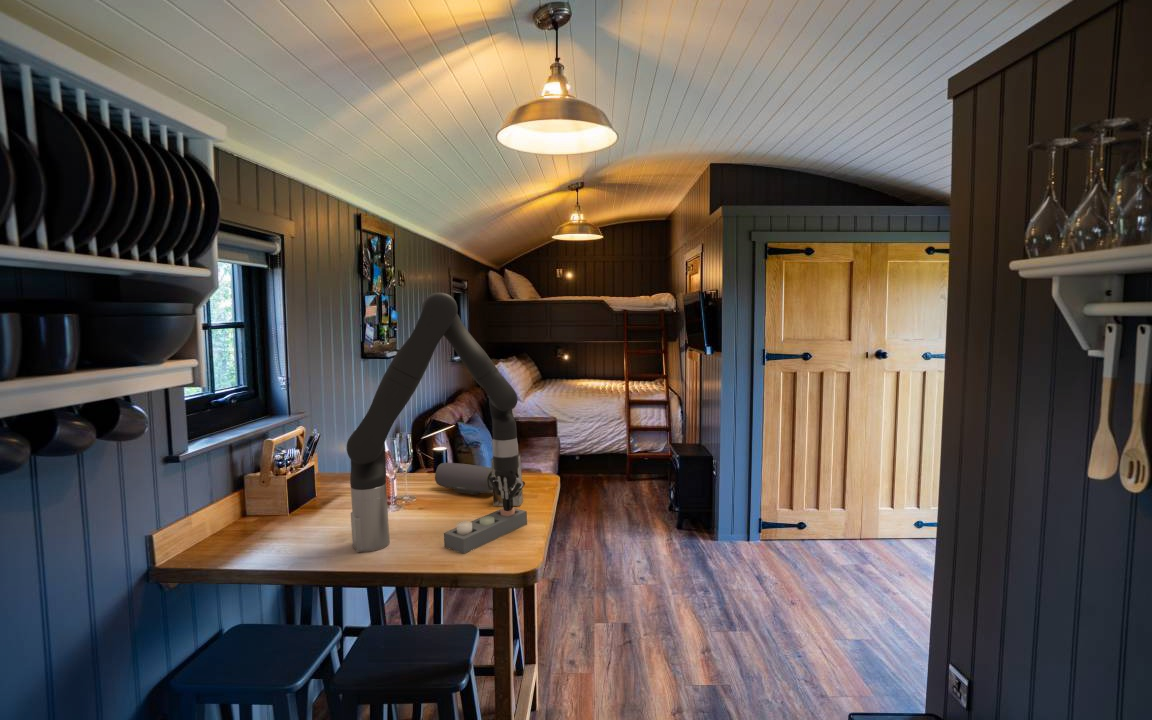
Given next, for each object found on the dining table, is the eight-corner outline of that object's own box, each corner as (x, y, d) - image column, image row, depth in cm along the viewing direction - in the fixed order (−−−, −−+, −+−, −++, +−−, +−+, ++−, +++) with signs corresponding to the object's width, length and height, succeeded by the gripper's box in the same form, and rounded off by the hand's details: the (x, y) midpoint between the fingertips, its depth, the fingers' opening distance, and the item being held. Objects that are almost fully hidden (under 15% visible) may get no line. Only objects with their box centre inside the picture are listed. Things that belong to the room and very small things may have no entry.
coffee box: (523, 500, 192) (521, 453, 191) (519, 506, 186) (517, 458, 184) (497, 500, 193) (495, 453, 192) (492, 506, 187) (490, 458, 185)
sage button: (487, 533, 159) (486, 522, 159) (476, 530, 162) (476, 519, 162) (497, 528, 163) (497, 518, 162) (487, 525, 165) (487, 515, 165)
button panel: (464, 553, 150) (463, 539, 150) (444, 547, 155) (443, 532, 155) (527, 524, 170) (526, 511, 170) (507, 518, 175) (507, 506, 174)
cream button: (464, 539, 153) (463, 528, 152) (453, 536, 155) (453, 525, 155) (475, 534, 156) (475, 523, 156) (465, 531, 158) (464, 520, 158)
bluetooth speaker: (502, 491, 202) (500, 464, 201) (486, 499, 193) (485, 471, 193) (451, 484, 212) (449, 458, 211) (434, 492, 204) (433, 464, 203)
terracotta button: (508, 524, 166) (507, 513, 166) (498, 521, 169) (497, 510, 168) (518, 519, 170) (517, 509, 169) (507, 516, 172) (507, 506, 172)
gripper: (530, 453, 166) (533, 510, 168) (498, 447, 174) (501, 502, 176) (513, 458, 160) (515, 518, 162) (480, 453, 168) (483, 509, 170)
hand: (508, 510), depth 169 cm, fingers closed
